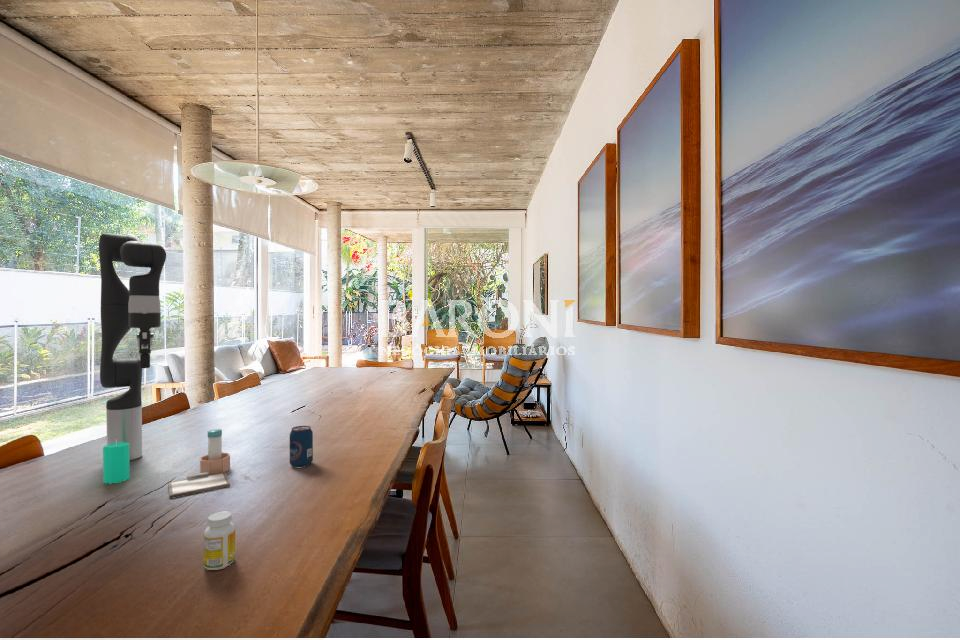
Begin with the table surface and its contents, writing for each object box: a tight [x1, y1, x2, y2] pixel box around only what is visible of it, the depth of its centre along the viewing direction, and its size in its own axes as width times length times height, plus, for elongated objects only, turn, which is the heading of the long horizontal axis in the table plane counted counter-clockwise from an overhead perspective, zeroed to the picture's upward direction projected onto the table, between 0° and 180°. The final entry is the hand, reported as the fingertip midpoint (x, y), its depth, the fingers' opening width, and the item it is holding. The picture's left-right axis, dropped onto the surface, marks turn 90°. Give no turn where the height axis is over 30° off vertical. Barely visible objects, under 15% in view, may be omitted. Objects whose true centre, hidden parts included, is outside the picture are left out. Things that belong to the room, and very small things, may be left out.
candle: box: [102, 439, 131, 484], centre depth 130 cm, size 6×6×12 cm
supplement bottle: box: [203, 510, 236, 569], centre depth 87 cm, size 5×5×10 cm
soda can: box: [289, 425, 314, 468], centre depth 143 cm, size 7×7×12 cm
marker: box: [207, 428, 223, 461], centre depth 138 cm, size 4×4×12 cm
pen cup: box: [199, 452, 231, 475], centre depth 138 cm, size 8×8×4 cm
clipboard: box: [168, 472, 231, 499], centre depth 126 cm, size 11×14×2 cm
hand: (145, 366), depth 131 cm, fingers open, 8 cm apart
